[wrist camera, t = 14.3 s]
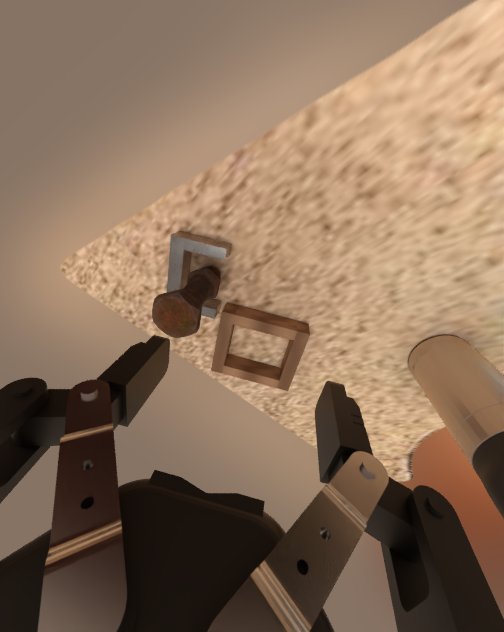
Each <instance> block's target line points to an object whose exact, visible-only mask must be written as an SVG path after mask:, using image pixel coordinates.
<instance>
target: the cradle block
mask: <svg viewBox="0 0 504 632" xmlns="http://www.w3.org/2000/svg"><path fill="white" fill-rule="evenodd" d="M231 247H232V244H229V243H225V242H221V241H217V240H213V239H210V238H206V237H202V236H198V235H194V234H190V233H187V232H183V231H179V232H177V233H174V234H172V235H171V243H170V257H169V270H168V284H167V292H171V291H175V290H179V289H183V288H184V287H185V286H186V285H187V279H188V275H189V269H190V260H191V252H194V253H198V254H202V255H206V256H210V257H213V258H217V259H221V260H226V259H227V257H228V256H229V255H230V252H231ZM220 306H221V301H220V300H216V299H211V300H207V301H205V302H204V304H203V305H202V313H201V315H203V316H206V317H210V318H214V319H215V317H216V315H217V313H218V312H219V310H220Z"/></svg>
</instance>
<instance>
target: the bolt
mask: <svg viewBox="0 0 504 632" xmlns="http://www.w3.org/2000/svg"><path fill="white" fill-rule="evenodd" d="M219 284H220V273H219V271H218V270H217V269H216V268H212V267H207V268H203V269H199V270H195V271H193V272H191V273H190V274H189V275H188V279H187V285H186V286H185V287H184V288H183V289H179V290H175V291H171V292H167V293H163V294H160V295H158V296H157V297H156V298H155V299H154V303H153V309H152V317H153V321H154V323H155V324H156V325H157V327H158V328H159V329H160V330H161V331H163V332H164V333H166V334H167V335H169V336H172V337H175V338H179V337H185V336H189V335H192V334H194V333H196V332H197V331H198V329H199V326H200V320H201V313H202V305H203V304H204V302H205V301H207V300H211V299H213V298H216V296H217V294H218V290H219Z"/></svg>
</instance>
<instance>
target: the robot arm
mask: <svg viewBox="0 0 504 632" xmlns="http://www.w3.org/2000/svg"><path fill="white" fill-rule="evenodd" d="M169 349H170V340H169V339H168V338H164V337H160V336H156V335H154V336H152V337H151V338H150V339H149V340H148V341H147V342H146V343H143V342H140V343H138V344H136V345H133V346H131V347H130V348H129V349H128V350H127V351H126V352H125V353H124V355H122V356H120V357H119V359H118V360H116V361H115V362H114V363H113V364H112V365H111V366H110V367H109V368H108V369H107V370H106V371H104V372H103V374H101V375H100V376H99V377H98V378H97V379H95V380H87V381H83V382H81V383H79V384H77V385H75V386H74V387H73V388H72V389H47V385H46V382H45V381H44V380H42V379H39V378H24V379H20V380H17V381H14V382H12V383H10V384H8V385H6V386H5V387H4V388H2V389H1V390H0V503H1V502H2V501H3V500H4V499H5V497H6V496H7V495H8V494H9V493H10V492H11V491H12V489H13V488H14V487H15V486H16V485H17V484H18V482H19V481H20V480H21V479H22V478H23V477H24V476H25V475H26V474H27V472H28V471H29V470H30V469H31V468H32V467H33V466H34V465H35V463H36V462H37V461H38V460H39V459H40V457H42V455H43V454H44V453H45V452H46V451H47V450H48V449H49V448H50V446H56V445H60V447H59V457H58V467H57V477H56V487H55V497H54V507H53V517H52V528H51V529H50V530H49V531H47V532H45V533H44V534H42V535H41V536H39V537H37V538H36V539H34V540H33V541H31V542H30V543H28V544H26V545H25V546H23V547H22V548H20V549H18V550H17V551H15V552H14V553H12V554H10V555H9V556H7V557H6V558H4V559H2V560H1V561H0V632H334V630H333V628H332V626H331V623H330V621H329V619H328V617H327V615H326V613H325V611H324V609H323V606H324V604H325V602H326V600H327V598H328V596H329V595H330V593H331V591H332V589H333V587H334V585H335V583H336V582H337V580H338V578H339V576H340V574H341V573H342V570H343V569H344V567H345V565H346V563H347V562H348V560H349V558H350V556H351V554H352V552H353V551H354V549H355V547H356V545H357V543H358V542H359V540H360V538H361V536H362V534H363V532H364V531H365V532H366V533H368V534H369V535H371V536H372V537H374V538H375V539H377V540H378V541H380V542H381V546H382V552H383V557H384V562H385V567H386V573H387V578H388V583H389V588H390V593H391V599H392V604H393V609H394V614H395V619H396V625H397V629H398V632H504V619H503V617H502V614H501V612H500V610H499V607H498V605H497V603H496V601H495V599H494V596H493V594H492V592H491V590H490V587H489V585H488V583H487V581H486V578H485V576H484V574H483V572H482V570H481V567H480V565H479V563H478V560H477V558H476V556H475V554H474V552H473V549H472V547H471V545H470V543H469V540H468V538H467V536H466V534H465V531H464V529H463V527H462V525H461V522H460V520H459V518H458V516H457V514H456V512H455V510H454V508H453V507H452V505H451V504H450V503H449V502H448V501H447V499H445V498H444V496H442V495H441V494H440V493H439V492H437V491H436V490H434V489H432V488H430V487H428V486H423V485H420V486H417V487H416V488H415V489H414V490H413V491H412V490H411V489H409V488H407V487H405V486H404V485H402V484H400V483H398V482H397V481H395V480H393V479H392V478H390V477H389V476H388V473H387V471H386V469H385V467H384V466H383V464H382V463H381V462H380V461H379V460H378V459H377V458H375V457H374V456H373V453H372V450H371V446H370V443H369V439H368V436H367V432H366V429H365V427H364V422H363V419H362V415H361V412H360V408H359V406H358V405H357V404H356V402H355V401H354V399H353V398H350V397H347V395H346V391H345V387H344V385H342V384H339V383H335V382H331V381H327V382H326V384H325V386H324V388H323V391H322V393H321V395H320V397H319V400H318V402H317V405H316V409H315V423H316V436H317V448H318V460H319V473H320V482H322V483H327V484H328V485H325V486H324V487H323V488H322V489H321V491H320V492H319V493H318V494H317V496H316V497H315V498H314V499H313V501H312V502H311V503H310V504H309V506H308V507H307V508H306V509H305V510H304V512H303V513H302V514H301V515H300V517H299V518H298V519H297V520H296V521H295V523H294V524H293V525H292V526H291V528H290V529H289V530H288V531H287V533H285V531H284V530H283V529H282V528H281V526H280V525H279V524H278V523H277V522H276V521H275V520H274V519H273V518H272V517H271V516H269V515H268V514H267V513H265V512H264V511H263V510H264V501H262V500H258V499H254V498H251V497H248V496H244V495H241V494H237V493H220V494H219V493H212V494H211V493H205V492H204V491H202V490H200V489H199V488H197V487H196V486H194V485H192V484H191V483H189V482H188V481H186V480H184V479H183V478H181V477H178V476H175V475H171V474H167V473H164V472H160V471H157V470H154V472H153V474H152V476H151V478H150V479H142V480H136V481H133V482H129V483H126V484H124V485H122V486H120V487H118V477H117V466H116V453H115V441H114V429H115V428H116V427H117V426H118V424H119V425H123V426H126V427H128V425H129V424H130V422H131V421H132V419H133V418H134V417H135V415H136V414H137V413H138V411H139V410H140V408H141V407H142V406H143V404H144V403H145V401H146V400H147V399H148V397H149V396H150V395H151V393H152V392H153V390H154V389H155V387H156V386H157V385H158V383H159V382H160V381H161V379H162V378H163V376H164V375H165V373H166V371H167V368H168V363H169ZM409 368H410V371H411V372H412V374H413V375H414V377H415V379H416V380H417V382H418V383H419V385H420V386H421V388H422V390H423V391H424V393H425V394H426V396H427V397H428V399H429V400H430V402H431V403H432V405H433V407H434V408H435V410H436V411H437V413H438V414H439V416H440V417H441V419H442V420H443V422H444V424H445V425H446V427H447V428H448V430H449V431H450V433H451V434H452V436H453V438H454V439H455V441H456V442H457V443H458V445H459V447H460V448H461V450H462V451H463V453H464V454H465V456H466V457H467V459H468V460H469V462H470V464H471V465H472V466H473V468H474V470H475V471H476V473H477V474H478V476H479V477H480V479H481V481H482V482H483V484H484V486H485V488H486V490H487V492H488V494H489V496H490V497H491V499H492V501H493V502H494V504H495V505H496V507H497V509H498V510H499V512H500V514H501V515H502V517H503V518H504V375H503V374H502V373H501V372H500V371H499V370H498V369H497V368H496V367H494V366H493V365H492V364H491V363H490V362H489V361H488V360H487V359H485V358H484V357H483V356H482V355H481V354H480V353H479V352H477V351H476V350H475V349H474V348H473V347H471V346H470V345H469V344H468V343H467V342H466V341H465V340H463V339H461V338H459V337H455V336H448V335H445V336H437V337H433V338H430V339H428V340H426V341H424V342H422V343H421V344H419V345H418V346H417V347H416V348H415V349H414V350H413V352H412V353H411V355H410V357H409Z"/></svg>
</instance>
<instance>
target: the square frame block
mask: <svg viewBox="0 0 504 632" xmlns="http://www.w3.org/2000/svg"><path fill="white" fill-rule="evenodd" d="M234 325H237V326H241V327H245V328H249V329H252V330H256V331H260V332H264V333H267V334H271V335H275V336H279V337H282V338H286V339H290V342H289V345H288V347H287V350H286V353H285V356H284V359H283V362H282V364H281V367H280V368H278V367H275V366H271V365H267V364H263V363H260V362H256V361H252V360H248V359H245V358H241V357H237V356H234V355H230V354H228V352H229V347H230V343H231V338H232V334H233V329H234ZM309 336H310V332H309V324H307V323H303V322H299V321H295V320H292V319H288V318H284V317H280V316H277V315H273V314H269V313H265V312H261V311H258V310H254V309H250V308H246V307H242V306H239V305H235V304H231V303H227V304H226V306H225V307H224V309H223V311H222V316H221V321H220V326H219V331H218V337H217V342H216V347H215V352H214V358H213V363H212V368H211V370H212V371H215V372H219V373H223V374H227V375H230V376H234V377H238V378H241V379H245V380H249V381H253V382H256V383H260V384H264V385H267V386H271V387H275V388H279V389H282V390H286V391H288V389H289V387H290V384H291V382H292V379H293V377H294V374H295V371H296V369H297V366H298V364H299V361H300V359H301V356H302V353H303V351H304V348H305V346H306V343H307V341H308V338H309Z"/></svg>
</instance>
